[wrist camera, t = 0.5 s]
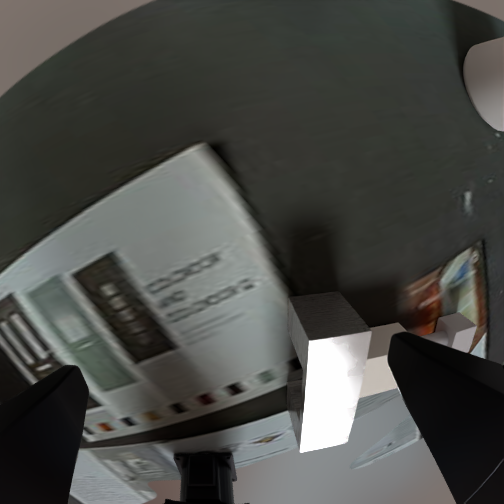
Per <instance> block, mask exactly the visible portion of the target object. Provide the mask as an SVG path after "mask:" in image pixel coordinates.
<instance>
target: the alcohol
mask: <svg viewBox="0 0 504 504" xmlns="http://www.w3.org/2000/svg"><path fill="white" fill-rule="evenodd" d="M463 77H464V82H465V87H466V90H467V93H468V96H469V98H470V101H471V103H472V104H473V106H474V108H475V110H476V111H477V113H478V114H479V115H480V116H481V118H482V119H483V120H484V121H486V122H487V123H488V124H489V125H490V126H492V127H493V128H495V129H496V130H498V131H504V37H502V38H498V39H494V40H491V41H487V42H484V43H480V44H477V45H474V46H472V47H471V48H470V49H469V51H468V53H467V55H466V57H465V60H464V64H463Z"/></svg>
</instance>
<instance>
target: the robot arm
mask: <svg viewBox="0 0 504 504" xmlns="http://www.w3.org/2000/svg"><path fill="white" fill-rule="evenodd" d="M387 362H388V365H389V368H390V370H391V372H392V375H393V377H394V379H395V382H396V384H397V386H398V389H399V391H400V394H401V396H402V398H403V400H404V402H405V405H406V407H407V408H408V410H409V412H410V414H411V416H412V418H413V419H414V421H415V423H416V425H417V427H418V429H419V430H420V432H421V434H422V436H423V438H424V440H425V442H426V444H427V446H428V447H429V449H430V451H431V453H432V455H433V457H434V459H435V461H436V463H437V465H438V467H439V469H440V471H441V473H442V475H443V477H444V479H445V481H446V483H447V485H448V487H449V489H450V491H451V493H452V495H453V497H454V500H455V502H456V504H504V365H503V366H502V365H501V364H498V363H495V362H492V361H489V360H486V359H484V358H481V357H478V356H475V355H472V354H469V353H466V352H463V351H460V350H457V349H454V348H451V347H448V346H446V345H443V344H440V343H437V342H434V341H431V340H428V339H426V338H423V337H420V336H417V335H414V334H411V333H409V332H406V331H403V332H399V333H395V334H393V335H392V336H391V339H390V345H389V350H388V355H387ZM88 397H89V389H88V386H87V384H86V381H85V379H84V377H83V375H82V372H81V370H80V368H79V367H78V366H76V365H64V366H63V367H61V368H59V369H58V370H56V371H55V372H53V373H51V374H50V375H48V376H46V377H45V378H43V379H42V380H40V381H38V382H37V383H35V384H34V385H32V386H30V387H29V388H27V389H26V390H24V391H22V392H21V393H19V394H17V395H16V396H14V397H13V398H11V399H9V400H8V401H6V402H5V403H3V404H1V405H0V504H68V499H69V493H70V488H71V483H72V478H73V473H74V469H75V464H76V460H77V455H78V451H79V447H80V443H81V439H82V434H83V428H84V421H85V414H86V408H87V402H88ZM174 461H175V463H176V465H177V467H178V470H179V472H180V474H181V491H180V501H173V500H170V499H165V503H164V504H234V497H233V483H232V482H233V481H237V476H236V470H235V465H234V460H233V455H232V454H231V453H211V454H174ZM245 504H249V503H245Z"/></svg>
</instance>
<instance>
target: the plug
mask: <svg viewBox="0 0 504 504" xmlns="http://www.w3.org/2000/svg"><path fill="white" fill-rule="evenodd" d="M476 327H477V325H475V324H474V323H473V322H471V321H470V320H469V319H467V318H466V317H465V316H464V315H462V314H461V313H460V312H458V313H455V314H451V315H447V316H443V317H439V318H438V322H437V326H436V330H435V333H431V334H427V335H424V336H420V337H423V338H426V339H428V340H431V341H434V342H437V343H440V344H443V345H446V346H448V347H451V348H454V349H457V350H460V351H463V352H466V353H467V352H469V349H470V346H471V343H472V340H473V337H474V334H475V330H476ZM370 329H371V330H372V333H371V339H370V345H369V351H368V356H367V361H366V366H365V371H364V376H363V381H362V386H361V390H360V394H359V398H361V397H365V396H369V395H373V394H377V393H380V392H384V391H388V390H391V389H395V388H398V386H397V384H396V382H395V379H394V377H393V375H392V372H391V370H390V368H389V365H388V362H387V355H388V350H389V345H390V339H391V336H392V335H393V334H395V333H399V332H403V331H406V330H405V329H404V328H403V327H402V326H401V325H400V324H399V323H393V324H388V325H383V326H378V327H373V328H370ZM406 332H407V331H406Z"/></svg>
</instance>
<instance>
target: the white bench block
mask: <svg viewBox="0 0 504 504" xmlns="http://www.w3.org/2000/svg"><path fill="white" fill-rule="evenodd" d="M288 332H289V335H290V337H291V340H292V343H293V345H294V348H295V350H296V353H297V355H298V358H299V361H300V363H301V366H302V368H303V379H301V380H294V381H287V407H288V411H289V415H290V418H291V422H292V426H293V429H294V433H295V436H296V440H297V444H298V447H299V451H300V452H305V451H311V450H316V449H321V448H326V447H330V446H335V445H339V444H343V443H347V441H348V437H349V434H350V430H351V426H352V423H353V419H354V415H355V411H356V407H357V403H358V399H359V394H360V390H361V386H362V381H363V376H364V371H365V366H366V361H367V356H368V351H369V345H370V339H371V333H372V330H371V329H370V328H369V327H368V326H367V324H366V323H365V322H364V321H363V320H362V318H361V317H360V316H359V315H358V314H357V312H356V311H355V310H354V309H353V308H352V306H351V305H350V304H349V303H348V302H347V300H346V299H345V298H344V297H343V296H342V295H341V293H340V292H339V291H336V292H328V293H319V294H310V295H301V296H291V297H288Z"/></svg>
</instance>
